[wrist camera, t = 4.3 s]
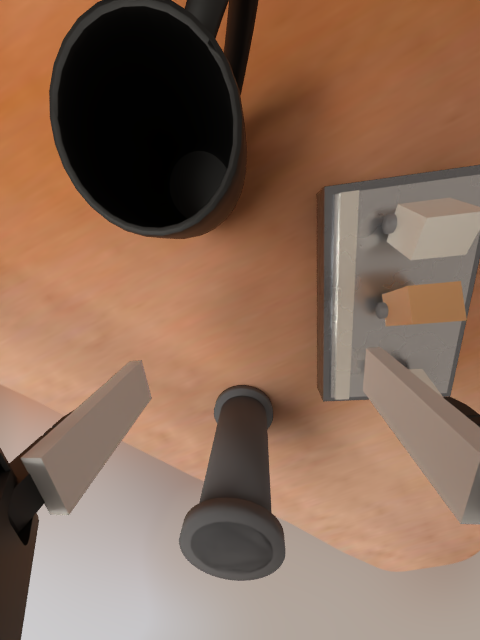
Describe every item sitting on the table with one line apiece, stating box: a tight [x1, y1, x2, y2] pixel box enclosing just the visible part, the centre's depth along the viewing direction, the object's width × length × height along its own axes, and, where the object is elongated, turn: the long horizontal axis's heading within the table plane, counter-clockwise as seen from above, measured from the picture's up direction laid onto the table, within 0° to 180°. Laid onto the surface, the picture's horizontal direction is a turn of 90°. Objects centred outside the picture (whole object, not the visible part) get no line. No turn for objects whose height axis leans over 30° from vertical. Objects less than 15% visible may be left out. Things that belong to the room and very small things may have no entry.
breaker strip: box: [317, 165, 480, 401], centre depth 18 cm, size 18×11×3 cm, turn 7°
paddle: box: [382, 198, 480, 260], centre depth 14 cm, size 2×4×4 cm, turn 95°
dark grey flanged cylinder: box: [179, 385, 285, 581], centre depth 19 cm, size 6×6×12 cm
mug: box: [49, 0, 258, 239], centre depth 13 cm, size 8×12×10 cm
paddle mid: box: [376, 281, 467, 326], centre depth 15 cm, size 2×4×4 cm, turn 97°
